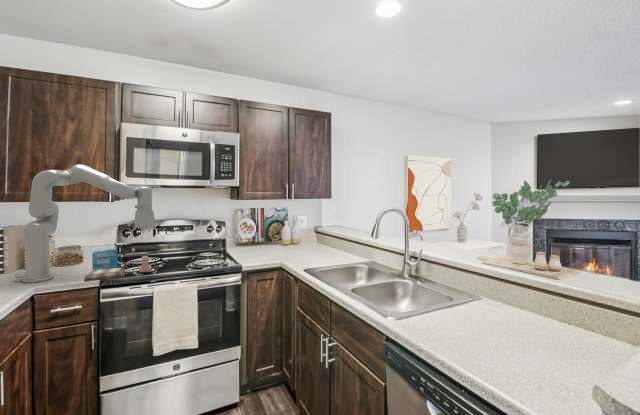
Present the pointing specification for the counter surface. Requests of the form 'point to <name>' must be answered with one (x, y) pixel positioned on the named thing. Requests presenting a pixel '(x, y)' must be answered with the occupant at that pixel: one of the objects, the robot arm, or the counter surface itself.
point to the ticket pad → (104, 274)
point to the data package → (105, 259)
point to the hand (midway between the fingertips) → (144, 236)
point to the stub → (144, 265)
